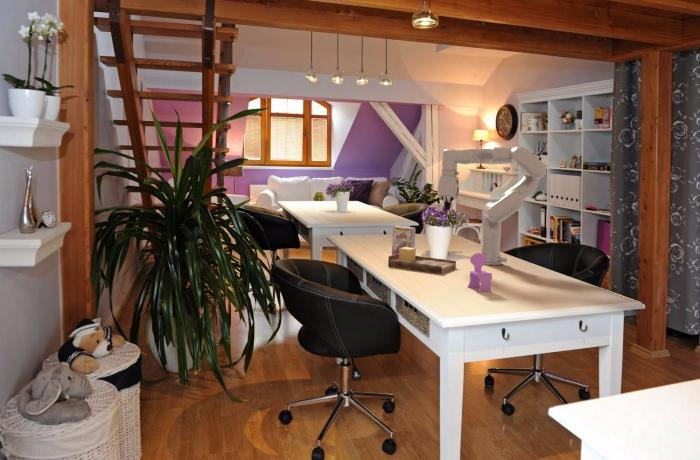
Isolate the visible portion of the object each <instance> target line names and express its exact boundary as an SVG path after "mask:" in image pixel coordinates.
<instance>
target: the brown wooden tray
mask: <svg viewBox="0 0 700 460" xmlns="http://www.w3.org/2000/svg"><path fill="white" fill-rule="evenodd" d="M387 264H388V265H387V266H388V267H390V268H396V267H397V268H398V269H403V268H404V269H403V270H410V269H411V271H417V270H418V272H419V271H420V272H425V273H429V274H430V273H431V274H439V275H442V274H445V273H447V272H450V271H451V270H454V269H456V268H457V261H456V260H450V259H444V258H443V259H442V258H435V257H428V256H421V255H416V256H415V260H414V261H411V262H407V261H401V260H399V253H398V254H395V255H392V254H391V255H389V256H388V262H387Z"/></svg>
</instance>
